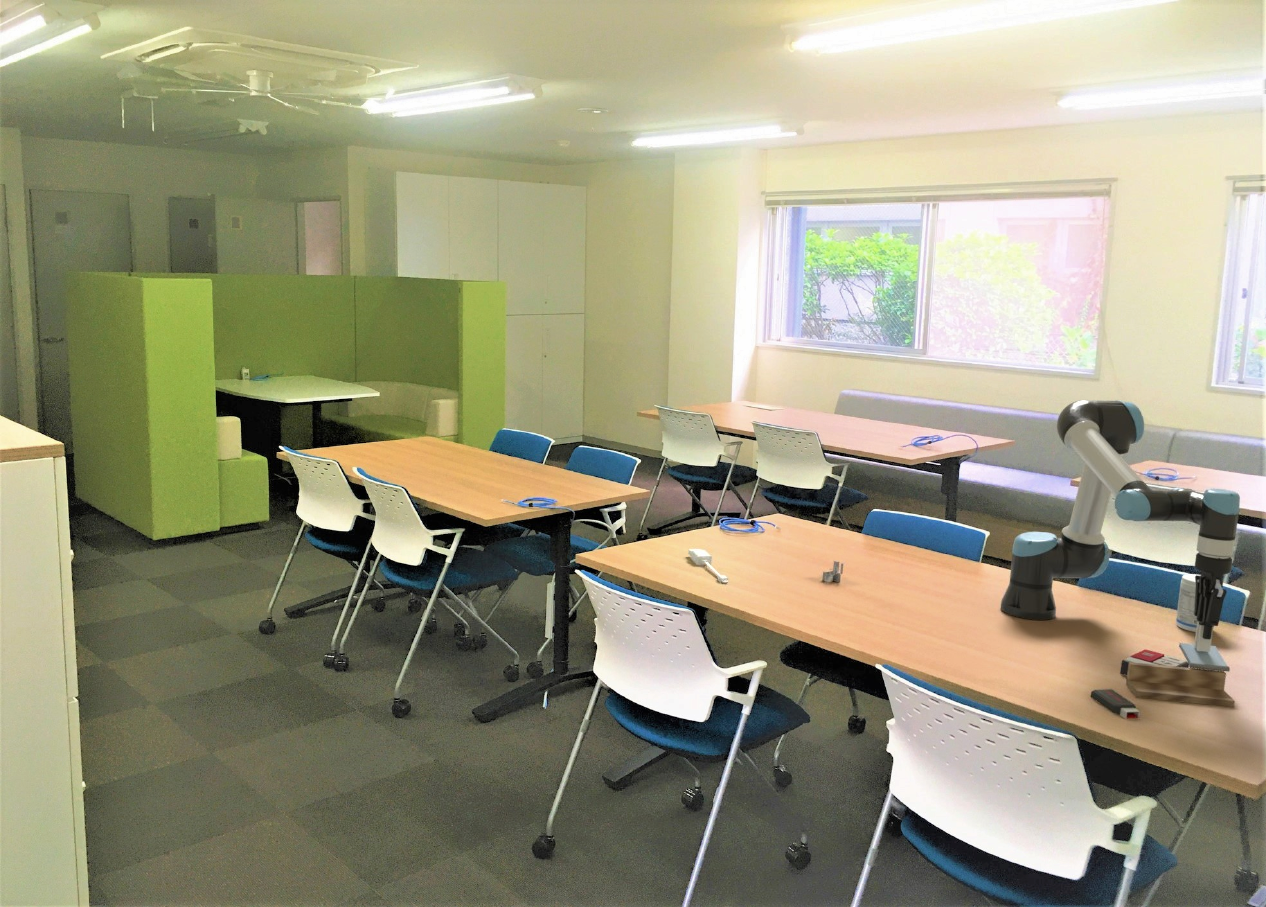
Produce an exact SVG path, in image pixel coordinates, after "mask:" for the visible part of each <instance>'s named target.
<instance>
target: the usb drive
mask: <svg viewBox="0 0 1266 907" xmlns="http://www.w3.org/2000/svg"><path fill="white" fill-rule="evenodd" d="M1090 698H1091V699H1093V700H1094V701H1096V702H1097V704H1100V705H1101V706H1102V707H1104V708H1105V709H1107V710H1108V711H1109V712H1112V713H1113V714H1116V715H1117V716H1118V715H1119V716H1121V717H1122V718H1124V719H1126V720H1127V719H1140V717H1141V716H1140V715H1141V711H1140V710H1138V709H1137V706H1136V704H1134V703H1133V702H1131V701H1130V700H1128V699H1127V698H1125V697H1124V696H1123V695H1121V694H1120V693H1119V692H1116V691H1115V690H1113V689H1112V688H1111V689H1110V688H1107V689H1106V688H1105V689H1099V688H1098V689H1093V690H1092V691H1091V692H1090Z"/></svg>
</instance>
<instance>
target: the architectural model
mask: <svg viewBox="0 0 1266 907" xmlns="http://www.w3.org/2000/svg"><path fill="white" fill-rule="evenodd" d="M832 566H833V568H830V569H829V571H822V581H824V582H826V583H831V582H832V581H834V582H837V583H841V575H842V574H843V571H844V562H841V563H840V561H836V560H833V565H832ZM839 570H840V572H839Z"/></svg>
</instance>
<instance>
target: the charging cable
mask: <svg viewBox="0 0 1266 907" xmlns="http://www.w3.org/2000/svg"><path fill="white" fill-rule="evenodd" d="M687 554H688V555H689V557H690V560H691V561H692V562H693V563H694V564H695V565H696V566H707V567H708V568H709V569H710V570H711V572H713V573H714V575H715V576H717V581H718V582H719V583H723V584H728V583H729V578H728V577H727V576H726V575H725V574H724V575H723V574H721V573H719V572H718V571H717V570H716V569H715V568H714V567H713V565H712V562H713V561H712V560H713V557H712V555H710V553H709V552H707V550H705V549H701V548H689V549H688V553H687Z"/></svg>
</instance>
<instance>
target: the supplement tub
mask: <svg viewBox="0 0 1266 907" xmlns="http://www.w3.org/2000/svg"><path fill="white" fill-rule="evenodd" d="M1196 575H1198V576H1201V574H1195V573H1193V574H1189V573H1188V574H1183V575H1181V580H1180V586H1179V595H1178V602H1177V611H1176V620H1175V624H1176V626H1177V627H1178V628H1181V629H1183V630H1184V631H1185V630H1186V631H1188V632H1193V633H1196V629H1197V622H1198V621H1197V616H1195V615H1194V609H1195V590H1196V582H1195V576H1196ZM1214 628H1215V626H1213V630H1214Z"/></svg>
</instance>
